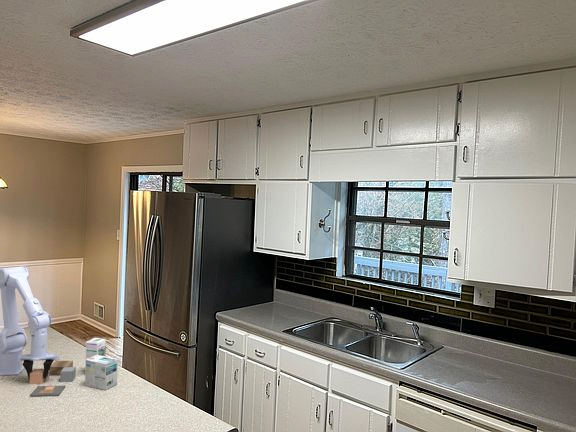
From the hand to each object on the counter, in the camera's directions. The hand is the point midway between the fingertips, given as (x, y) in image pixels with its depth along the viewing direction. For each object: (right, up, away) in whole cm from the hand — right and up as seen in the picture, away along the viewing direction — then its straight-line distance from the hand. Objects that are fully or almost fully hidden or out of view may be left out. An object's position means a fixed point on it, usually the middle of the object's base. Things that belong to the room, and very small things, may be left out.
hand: (38, 378), depth 177 cm
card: (+9, -2, -8) cm, 12 cm away
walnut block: (+4, -2, +10) cm, 11 cm away
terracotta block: (0, -2, 0) cm, 2 cm away
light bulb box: (+25, -3, 0) cm, 26 cm away
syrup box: (+18, -2, +11) cm, 21 cm away
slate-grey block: (+11, -2, +3) cm, 11 cm away
